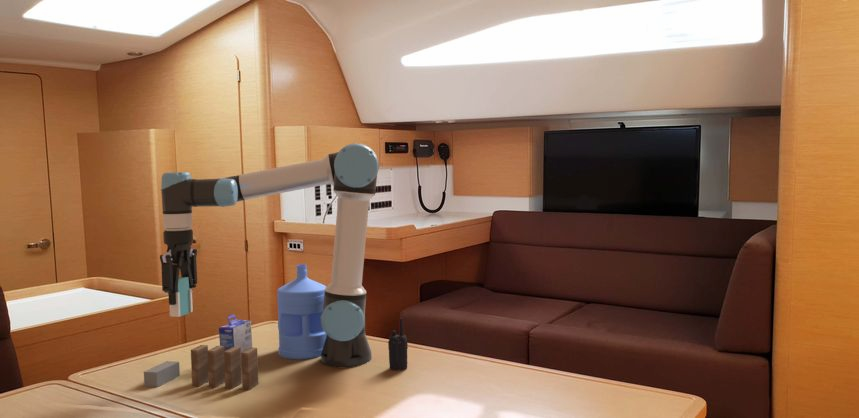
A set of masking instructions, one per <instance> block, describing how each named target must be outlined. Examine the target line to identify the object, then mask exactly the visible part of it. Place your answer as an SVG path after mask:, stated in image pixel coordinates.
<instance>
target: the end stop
mask: <svg viewBox="0 0 859 418" xmlns="http://www.w3.org/2000/svg"><path fill="white" fill-rule="evenodd" d="M180 373H181V372H180V361H172V360H166V361H164V362H162V363H159V364H157V365H155V366H153V367H151V368H148V369H147V370H144V371H143V382H144V383H143V384H144V386H143V387H147V388H148V387H150V388H158V387H160V386H162V385H164V384H166V383H169V382H171V381H172V380H175V379H176V378H178V377H179V376H181V375H180Z"/></svg>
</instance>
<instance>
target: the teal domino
mask: <svg viewBox="0 0 859 418" xmlns="http://www.w3.org/2000/svg"><path fill="white" fill-rule="evenodd" d="M177 292H179V293H180V316H179V317H183V316H185V315H188V314H191V312H190V297H189V277H182V276H179V280H178V289H177ZM179 317H178V318H179Z"/></svg>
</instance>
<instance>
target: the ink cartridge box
mask: <svg viewBox="0 0 859 418" xmlns="http://www.w3.org/2000/svg"><path fill="white" fill-rule="evenodd" d="M232 318H234V319H232ZM231 319H232V320H231ZM227 320H228V323H226V324H224V325H222V326H219V327H218V335H219V338H218V339H219V346H224V351H226V350H228V349H230V348H232V347H241V352H243V351H245V350H247V349H249V348H250V347H251V348H253V335H252V320H250V319H237V317H236V315H235V314H231V315H229V316H227Z"/></svg>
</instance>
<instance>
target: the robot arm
mask: <svg viewBox="0 0 859 418" xmlns="http://www.w3.org/2000/svg"><path fill="white" fill-rule="evenodd" d="M379 164H380V163H379V159H378V156H377V154H376V153H375V151H374V150H373V149H372V148H371V147H369V146H368V145H366V144H364V143H359V142H358V143H350V144H346V145H345V146H343V147H342V148H341V149H340V150H339V151H337V152H333V153H329V154H327V155H326V156H325V157H324V158H320V159H315V160H310V161H305V162H299V163H294V164H290V165H285V166H278V167H274V168H269V169H264V170H259V171H252V172H247V173H243V174H242V173H241V174H239V175H233V176H228V177H227V176H226V177H221V178H204V179H203V178H201V179H197V178H196V179H195V178H192V177H191V173H190V172H188V171H187V172H186V171H185V172H182V171H181V172H175V171H174V172H164V173H162V175H161V183H160V184H161V188H160V193H161V194H160V195H161V206H162V207H161V208H162V209H161V210H162V227H163V229H165V230H163V236H162V237H163V244H164V245H166V246H167V249H166V253H164V254H160V255H159V260H160V264H161V288H162V292H164V293H166V294H168V304H169V317H173V318H174V317H177V318H179V316H180V293H179V292H177V289H178V280H179V278H180V277H189V297H190V313H192V312H193V311H194V310H193V309H194V308H193V304H194V302H193V296H194V294H193V288H194V289H196V287H197V284H198V269H197V268H198V267H197V254H198V249H197V248H192V247H191V245H190V244H192V243H193V242H194V232H193V231H194V230H192V229H191V228H193V226H194V224H193V222H194V220H193V208H197V207H202V208H203V207H220V208H225V207H233V206H235V205H236V204H237V203H238V202H243V201H248V200H252V199H258V198H262V197H268V196H273V195H279V194H284V193H288V192H294V191H299V190H305V189H309V188H314V187H319V186H325V185H331V186H332V187H333V189H332V190H333V191H332V192H334V194H335V195H336V196H337V209H336V219H335V228H334V229H335V230H334V232H335V233H334V243H333V255H332V266H331V276H330V277H331V278H330V283H329V284H328V285H327V286H326V288H325V293H324V304H323V312H322V315H321V324H322V328H323V330H324V332H325V333H326V339H325V343H324V346H323V350H322V353H321V356H320V362H321V364H322V365H325V366H326V367H331V368H338V367H342V368H343V367H345V368H354V367H359V366H363V365H364V364H365V365H366V364H367V362H368V363H369V362H371V361H372V358H373V357H372V350H371V347H370V344H369V342H368V338H367V335H366V316H365V315H366V305H367V304H366V300H367V290H366V289H365V288H364V286H363V285H362V284H363V277H364V275H363V274H364V266H365V265H364V263H365V252H366V241H367V240H366V239H367V233H368V232H367V231H368V230H367V229H368V228H367V227H368V221H369V220H368V218H369V210H370V209H369V208H370V207H369V205H370V201H371V199H372V198H373V197H375V196H376V192H377V191H376V189H377V179H378V173H379V169H380V167H379V166H380V165H379ZM180 275H181V276H180ZM180 317H181V316H180ZM362 364H363V365H362ZM358 365H359V366H358ZM353 366H354V367H353ZM343 369H344V368H343Z"/></svg>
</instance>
